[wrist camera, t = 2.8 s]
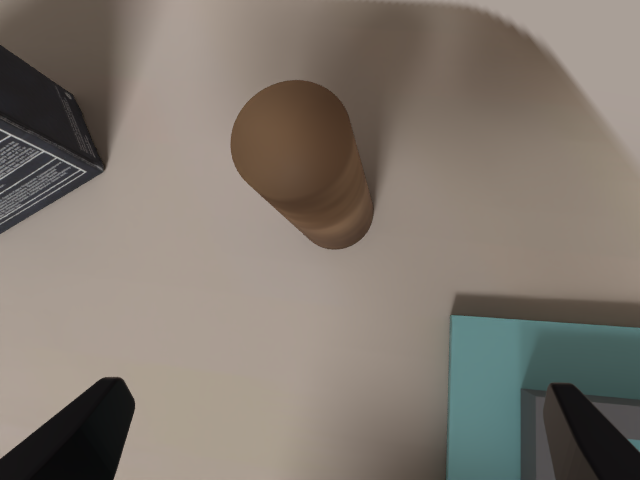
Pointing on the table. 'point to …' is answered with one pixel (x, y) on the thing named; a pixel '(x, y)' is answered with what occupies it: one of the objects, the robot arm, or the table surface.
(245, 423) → the table surface
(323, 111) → the peg
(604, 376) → the docking socket
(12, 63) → the small box
